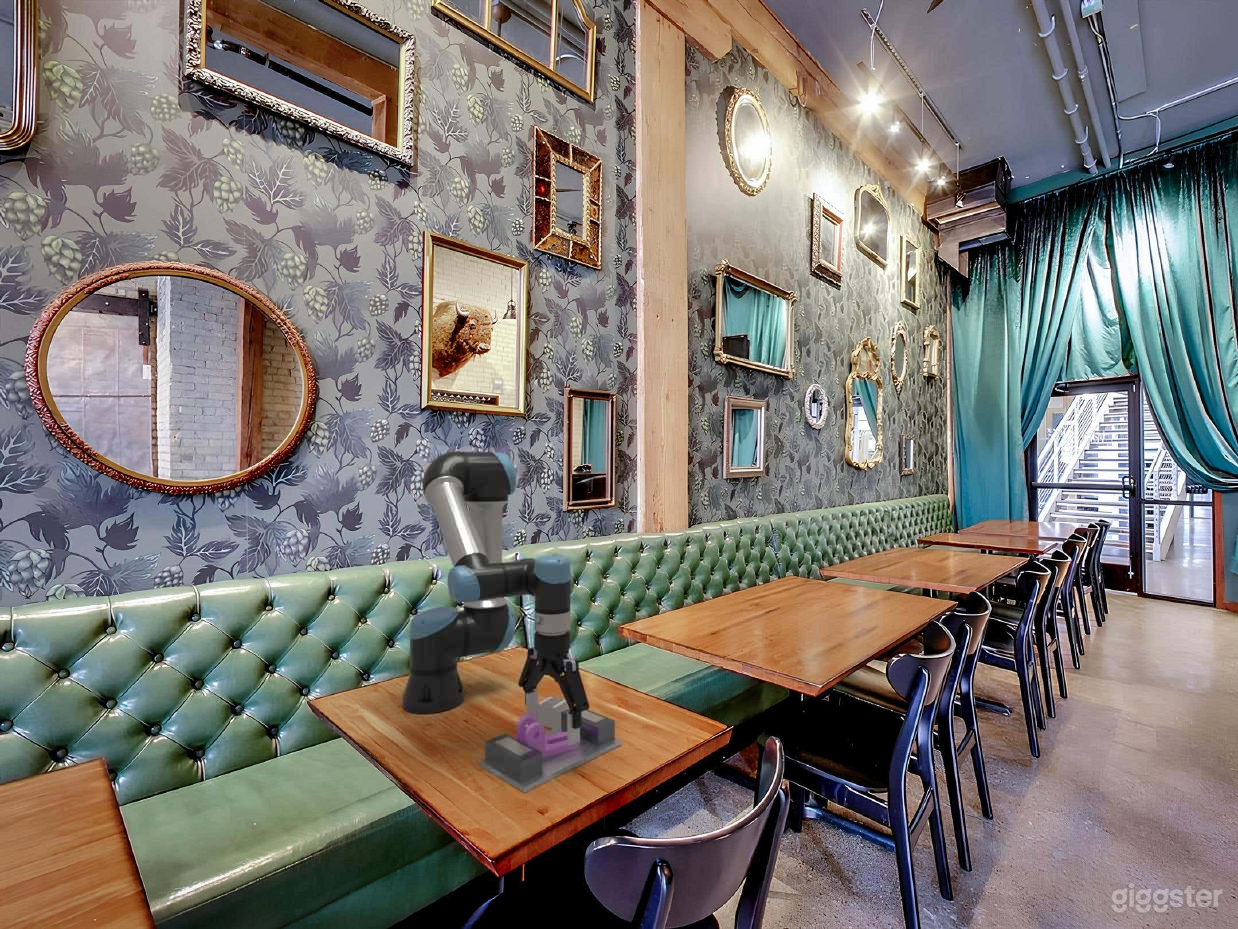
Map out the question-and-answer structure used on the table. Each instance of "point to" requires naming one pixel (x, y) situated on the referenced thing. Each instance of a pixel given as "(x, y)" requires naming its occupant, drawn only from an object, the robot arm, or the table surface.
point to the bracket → (542, 738)
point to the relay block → (551, 712)
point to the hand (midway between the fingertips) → (551, 732)
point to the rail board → (532, 770)
